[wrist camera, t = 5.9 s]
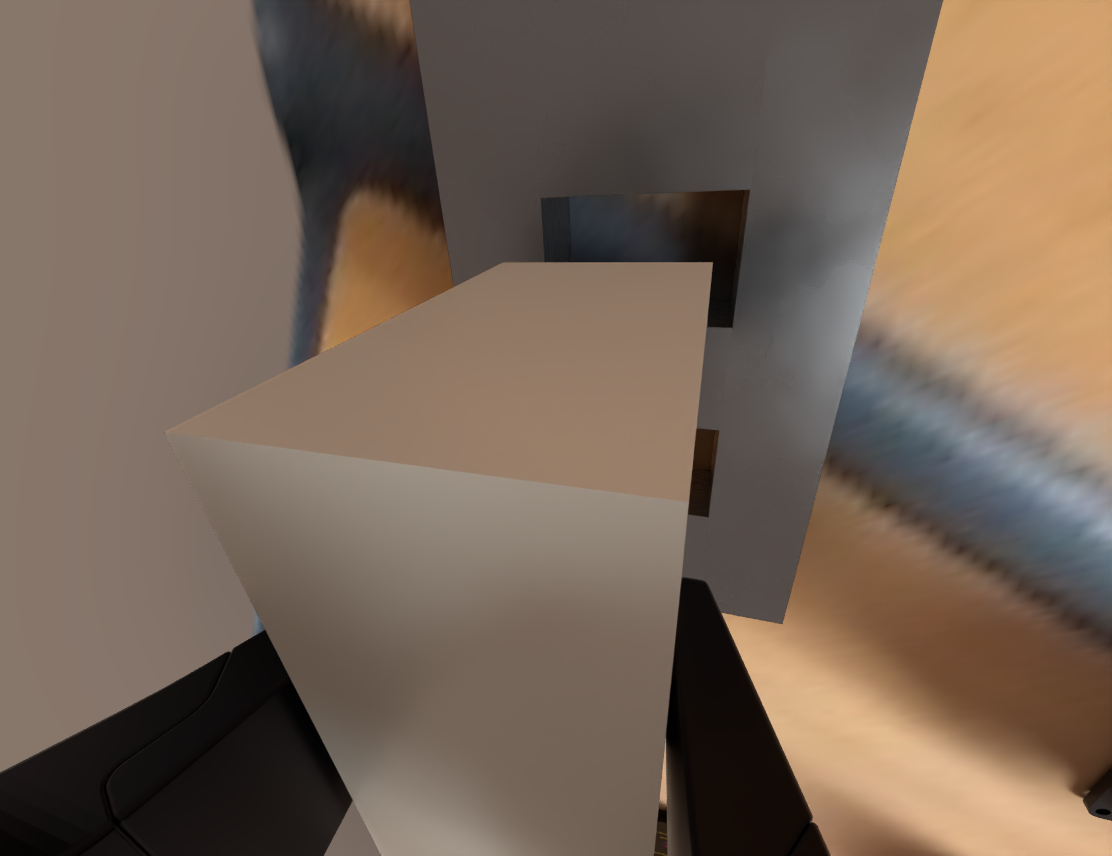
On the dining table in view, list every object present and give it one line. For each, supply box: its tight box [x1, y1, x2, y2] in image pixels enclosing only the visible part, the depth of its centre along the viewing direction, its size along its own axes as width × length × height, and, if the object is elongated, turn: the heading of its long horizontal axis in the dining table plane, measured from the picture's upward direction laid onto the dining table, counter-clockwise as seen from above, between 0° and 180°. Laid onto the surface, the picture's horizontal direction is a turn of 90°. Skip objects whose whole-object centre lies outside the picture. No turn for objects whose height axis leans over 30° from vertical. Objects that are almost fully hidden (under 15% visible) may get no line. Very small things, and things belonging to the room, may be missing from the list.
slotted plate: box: [410, 0, 943, 624], centre depth 17 cm, size 20×12×3 cm, turn 3°
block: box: [164, 262, 713, 856], centre depth 8 cm, size 9×4×7 cm, turn 3°
